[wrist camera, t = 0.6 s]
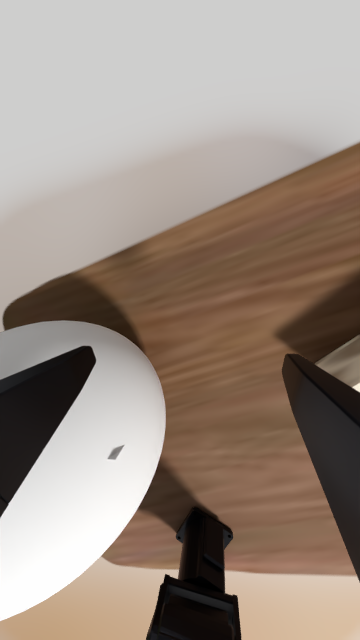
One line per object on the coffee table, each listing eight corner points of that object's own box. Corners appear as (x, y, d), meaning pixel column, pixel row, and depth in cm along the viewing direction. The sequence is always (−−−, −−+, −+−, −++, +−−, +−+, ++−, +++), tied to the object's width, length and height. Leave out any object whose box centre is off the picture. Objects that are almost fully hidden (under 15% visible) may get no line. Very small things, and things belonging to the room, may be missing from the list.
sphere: (172, 304, 24) (-22, 324, 4) (191, 440, 26) (111, 888, 6) (52, 321, 28) (-318, 370, 9) (75, 437, 30) (-191, 697, 10)
